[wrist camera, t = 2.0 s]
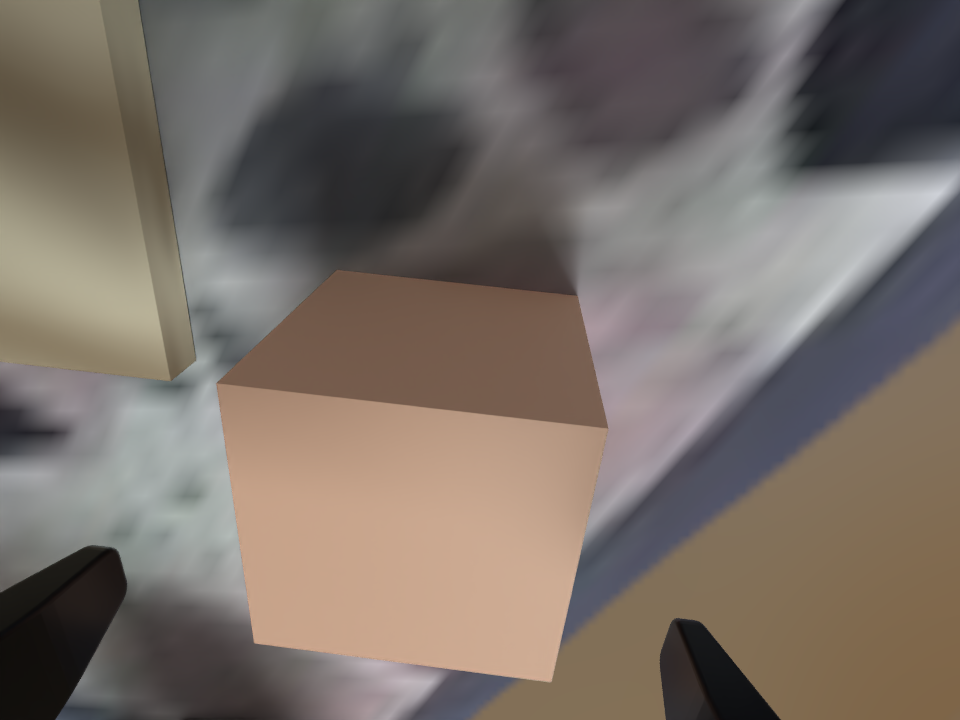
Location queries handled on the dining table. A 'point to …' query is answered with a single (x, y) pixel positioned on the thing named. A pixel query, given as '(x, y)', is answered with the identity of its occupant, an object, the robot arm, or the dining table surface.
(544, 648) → the terracotta cube
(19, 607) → the robot arm
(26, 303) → the birch board
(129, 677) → the dining table surface
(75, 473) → the dining table surface
